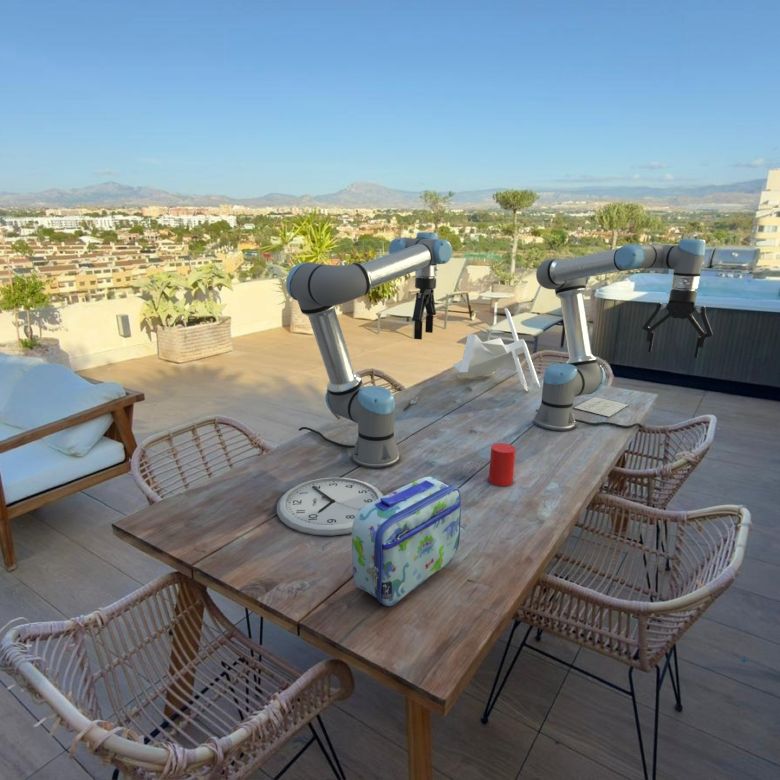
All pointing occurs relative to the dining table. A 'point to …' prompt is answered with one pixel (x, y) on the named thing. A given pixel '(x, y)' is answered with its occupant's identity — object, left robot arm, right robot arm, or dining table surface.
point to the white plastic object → (493, 356)
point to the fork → (411, 403)
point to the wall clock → (325, 505)
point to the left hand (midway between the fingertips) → (423, 335)
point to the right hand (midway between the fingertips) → (672, 354)
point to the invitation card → (601, 406)
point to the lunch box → (405, 538)
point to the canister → (502, 464)
